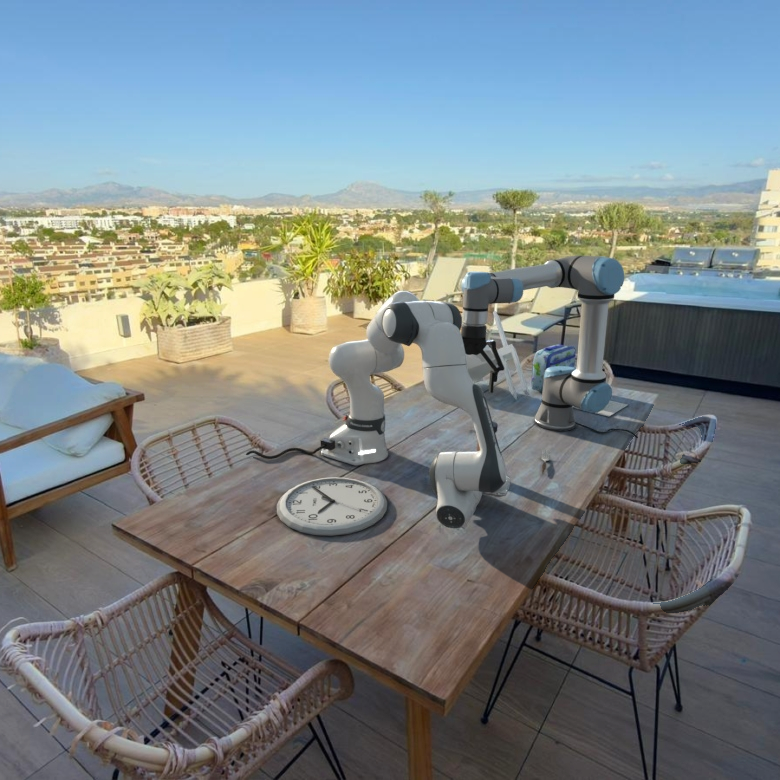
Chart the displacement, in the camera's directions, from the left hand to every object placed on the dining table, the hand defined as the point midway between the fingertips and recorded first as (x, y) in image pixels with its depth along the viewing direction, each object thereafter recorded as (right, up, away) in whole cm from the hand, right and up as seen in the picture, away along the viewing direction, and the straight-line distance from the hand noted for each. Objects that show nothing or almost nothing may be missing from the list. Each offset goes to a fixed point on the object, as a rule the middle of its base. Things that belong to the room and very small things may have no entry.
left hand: (478, 467), depth 151 cm
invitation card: (+66, +15, +75) cm, 101 cm away
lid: (+4, +12, +5) cm, 14 cm away
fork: (+24, -2, +18) cm, 30 cm away
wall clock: (-41, -9, -8) cm, 43 cm away
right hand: (-1, +22, +13) cm, 25 cm away
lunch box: (+52, +23, +99) cm, 114 cm away
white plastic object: (+16, +21, +92) cm, 96 cm away
